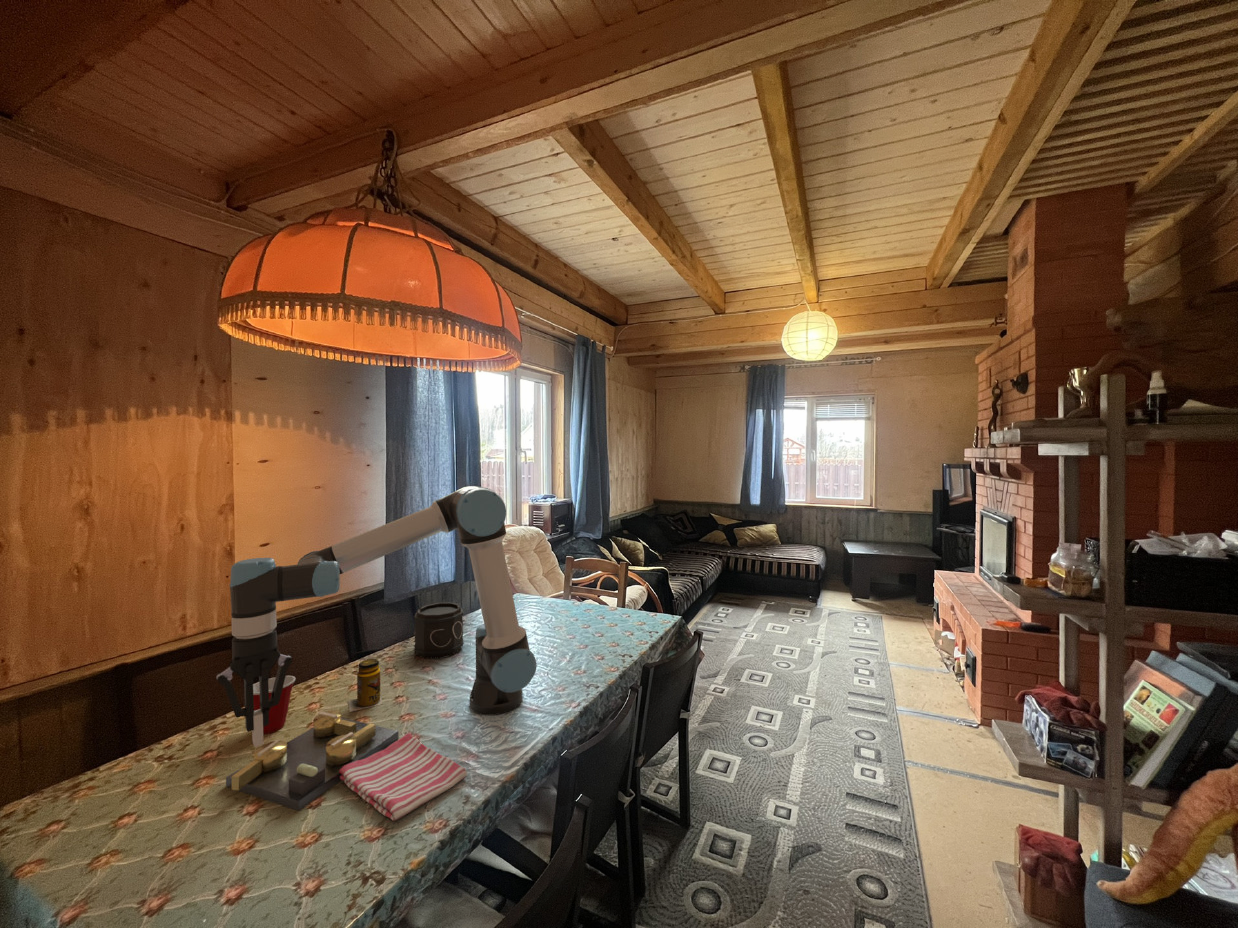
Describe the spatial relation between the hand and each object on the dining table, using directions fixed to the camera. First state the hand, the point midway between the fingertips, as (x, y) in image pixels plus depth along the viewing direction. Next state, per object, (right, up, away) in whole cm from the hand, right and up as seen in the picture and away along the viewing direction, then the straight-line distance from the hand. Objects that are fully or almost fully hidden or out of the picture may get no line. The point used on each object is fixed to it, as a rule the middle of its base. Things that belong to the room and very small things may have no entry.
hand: (258, 742), depth 99 cm
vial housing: (+11, -9, 0) cm, 14 cm away
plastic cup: (-16, -11, +25) cm, 31 cm away
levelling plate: (+6, -11, +11) cm, 16 cm away
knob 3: (+14, -9, +11) cm, 20 cm away
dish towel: (+29, -11, +4) cm, 31 cm away
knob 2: (+5, -8, +19) cm, 21 cm away
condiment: (+2, -11, +38) cm, 39 cm away
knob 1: (-2, -9, +3) cm, 9 cm away
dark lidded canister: (+9, -11, +76) cm, 78 cm away
